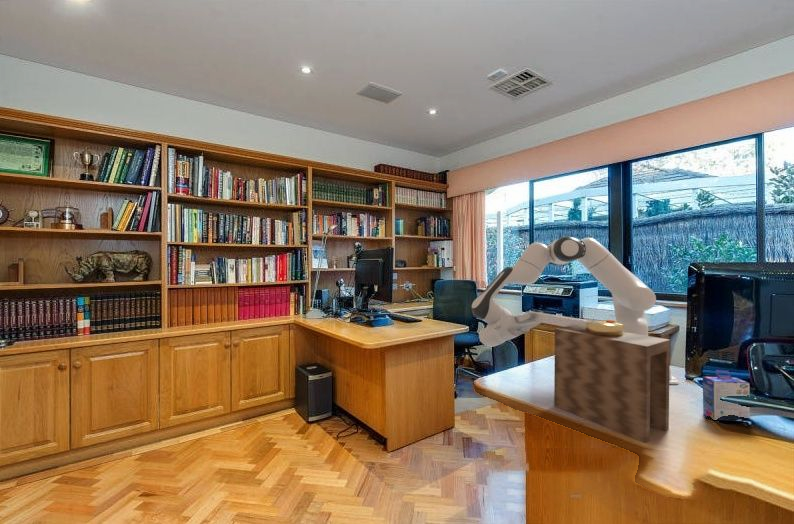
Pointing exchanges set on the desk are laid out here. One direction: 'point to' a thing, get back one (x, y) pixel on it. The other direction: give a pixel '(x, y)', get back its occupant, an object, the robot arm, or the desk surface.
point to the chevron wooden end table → (613, 380)
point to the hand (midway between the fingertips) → (536, 314)
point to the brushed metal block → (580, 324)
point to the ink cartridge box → (724, 388)
